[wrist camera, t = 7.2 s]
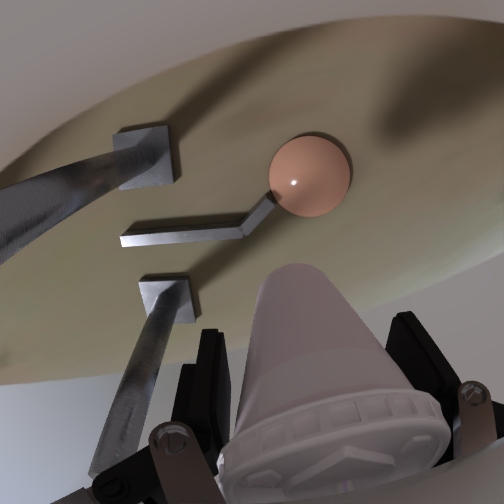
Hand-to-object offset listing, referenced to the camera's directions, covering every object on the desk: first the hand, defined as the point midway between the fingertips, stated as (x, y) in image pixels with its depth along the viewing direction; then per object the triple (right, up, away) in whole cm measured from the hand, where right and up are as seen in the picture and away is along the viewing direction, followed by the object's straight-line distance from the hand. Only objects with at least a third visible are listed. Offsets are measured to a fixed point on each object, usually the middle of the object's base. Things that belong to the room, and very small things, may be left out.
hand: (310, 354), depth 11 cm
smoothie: (0, +2, +4) cm, 4 cm away
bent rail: (-7, +7, +16) cm, 19 cm away
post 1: (-11, +12, +14) cm, 22 cm away
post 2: (-11, -1, +19) cm, 22 cm away
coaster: (+3, +10, +15) cm, 18 cm away
